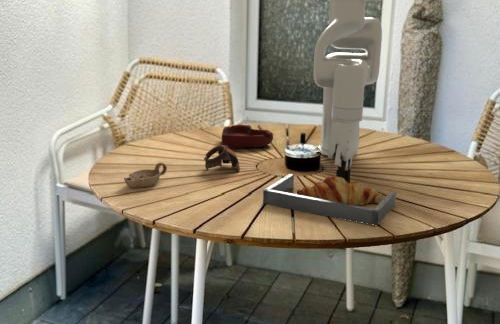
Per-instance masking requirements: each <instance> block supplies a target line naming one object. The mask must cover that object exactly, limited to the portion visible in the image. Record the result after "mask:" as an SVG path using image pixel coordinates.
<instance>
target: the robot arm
mask: <svg viewBox="0 0 500 324" xmlns="http://www.w3.org/2000/svg"><path fill="white" fill-rule="evenodd" d="M366 1H367V2H380V1H383V0H329V16H328V17H329V18H328V25H327V27H326V28H325V29H324V30H323V31H322V33H321V34H320V36H319V37H318V39H317V41H316V43H315V46H314V53H313V54H314V55H313V80H314V83H315V84H316V86H317V87H320V88H322V89H323V97H322V120H321V122H322V123H321V137H320V139H321V141H320V142H321V143H320V144H318V145H317V146H316V147H318V148H319V149H320V151H321V154H320V155H324V156H327V158H328V159H330V160H333V159H334V158H335V159H334V166H335V167H336V168H335V169H336V173H335V175H336V176H337V177H342V178H344V179H345V181H347V182H348V183H350V182H351V172H352V170H351V169H352V163H353V158H354V157H355V156H356V155H357V154H358V151H359V147H360V146H359V145H360V122H362V121H363V113H364V112H363V111H364V96H365V87H366V86H367V85H373V84H375V83H376V82H377V81H378V79H379V75H380V65H381V64H380V63H381V53H382V52H381V51H382V40H383V29H382V28H383V27H382V24H381V22H380V20H379V19H378V18H377V17H376V18H375V17H371V16H370V17H366ZM329 46H331V47H332V48H335V49H340V50H363V51H365V52H363V53H362V52H361V53H359V52H353V53H352V52H332V53H329V54H327V55H326V50H327V48H328V47H329Z"/></svg>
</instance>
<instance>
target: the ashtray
mask: <svg viewBox="0 0 500 324" xmlns="http://www.w3.org/2000/svg"><path fill="white" fill-rule="evenodd" d="M273 140H274V133H273V132H271V131H270V130H268V129H254V128H252V126H251V125H249V124H241V123H239V124H235V125H231V126H230V125H229V126H224V127H223V129H222V132H221V145H227V146H228V147H229V148H230V150H234V149H246V148H268V146H269V144H271V143H272V142H273Z"/></svg>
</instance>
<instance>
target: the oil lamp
mask: <svg viewBox="0 0 500 324" xmlns="http://www.w3.org/2000/svg"><path fill="white" fill-rule="evenodd" d="M161 166H162V171H160V167H161ZM167 170H168V167H167V165H166V163H164V162H158V163H157V164H155V166H154V169H139V170H136V171H134V172H133V173H129V174H128V177H124V178H123V180H124V182H125V184H126V185H127V186H128V187H129V188H134V189H139V188H140V189H142V188H149V187H152V186H154V185H156V184H157V183H158V182H159V180H160V177H161V176H164V175H165V174H166V173H167Z"/></svg>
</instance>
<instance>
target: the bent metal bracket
mask: <svg viewBox="0 0 500 324" xmlns="http://www.w3.org/2000/svg"><path fill="white" fill-rule="evenodd" d="M294 179H295V174H293V173H289V174H287V175H285V176H284V177H282V178H281V179H279V180H277V181H276V182H273V183H272V184H271V185H269V186H267V187H266V188H264V189H263V190H262V191H263V192H262V193H263V194H262V195H263V197H262V204H263V205H268V206H274V207H279V208H283V209H289V210H293V211H297V212H298V211H299V212H303V213H308V212H309V214H312V213H314V214H313V215H317V214H319V215H318V216H322V215H325V216H324V217H327V216H330V217H329V218H332V217H336V218H335V219H337V218H342V219H346V220H345V221H347V220H351V221H350V222H352V221H355V222H354V223H357V222H363V223H368V224H374V225H377V224H378V223H379V222H380V221H381V219H382V218H383V217H384V216H385V215H386V214H387V213H388V212H389V211H390V210H391V211H392V209H393V208H394V207H396V200H397V199H396V198H397V192H396V191H390V192H389V193H388V194H387V195H386V196H385V197H384V198H382V199H381V200H380V201H379V202H378V204H377V205H376V206H375V208H370V207H366V206H365V207H364V206H361V205H356V206H355V205H350V204H345V203H339V202H334V201H329V200H323V199H318V198H313V197H308V196H302V195H297V193H291V192H289V191H290V190H291V189H293V188H294V183H295V182H294V181H295V180H294ZM391 211H390V212H391ZM390 212H389V213H390ZM389 213H388V214H389ZM388 214H387V215H388ZM387 215H386V216H387ZM386 216H385V217H386ZM385 217H384V218H385ZM384 218H383V219H384ZM342 219H341V220H342ZM356 221H357V222H356ZM381 222H382V221H381ZM381 222H380V223H381ZM380 223H379V224H380ZM379 224H378V225H379ZM378 225H377V226H378Z"/></svg>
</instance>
